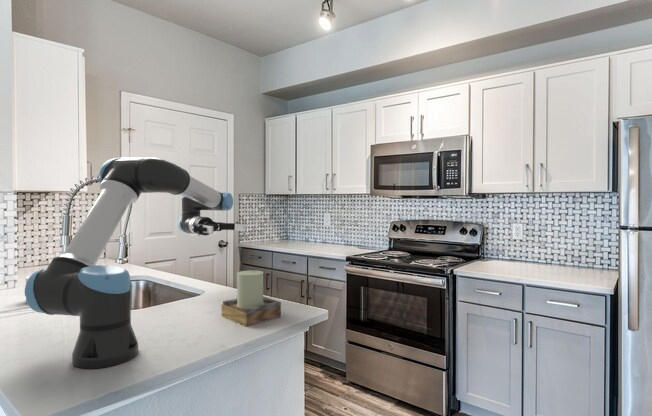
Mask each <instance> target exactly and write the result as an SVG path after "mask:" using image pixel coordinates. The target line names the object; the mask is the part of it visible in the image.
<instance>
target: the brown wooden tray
mask: <svg viewBox="0 0 652 416" xmlns="http://www.w3.org/2000/svg"><path fill="white" fill-rule="evenodd" d="M263 303H264V305H260V306H256V307H251V308H247V309H242V308H239V307H237V298H232V299H226V300H223V301H222V304H221V317H222V316H223V318H224V317H226V318H225V319H227V318H228V319H227V320H229V319H230V321H231V320H233V321H232V322H234V321H235V322H234V323H236V322H237V324H238V323H239V324H238V325H241V326H243V325H244V327H248V326H247V325H249V326H251V324H253V325H255V324H254V323H256V324H259V323H258V322H260V323H262V322H261V321H264V322H266V321H265V320H267V321H270V320H269V319H271V320H274V319H273V318H275V319H278V318H281V317H282V301H278V300H275V299H272V298H269V297H266V296H263ZM280 316H281V317H280ZM277 317H278V318H277Z"/></svg>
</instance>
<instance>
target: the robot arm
mask: <svg viewBox="0 0 652 416" xmlns="http://www.w3.org/2000/svg"><path fill="white" fill-rule="evenodd" d="M98 175H99V177H98V182H99V189H100V191H101V192H100V194H99V196H98V198H96V200H95V202H94V204H93V206H92V207H91V208H90V210H89V212H88V213H87V215H86V217H85V219H84V220H83V221H82V223H81V225H79V228H78V230H77V231H76V233H75V235H74V236H73V238H72V239H71V241H70V243H69V244H68V246H67V247H66V249H65V251H64V252H63V254H61V255H58V256H55V257H53V259H52V260H51V261H50V263H49V264H48V265H47V268H41V269H38V270H37V271H34V272H33V273H32V274H31V275H29V276H30V277H29V279H28V281H27V283H26V282H25V286H24V296H25V302H26V304H27V306H28V307H29V308H30V309H31V310H32V311H34V312H36V313H41V314H45V315H48V316H50V315H51V316H53V315H54V316H55V315H56V316H57V315H58V316H71V317H72V316H73V317H79V333H78V336H77V339H76V342H75V345H74V348H73V350H72V353H71V354H72V355H71V363H72V365H73V366H74V367H77V368H80V369H87V370H88V369H91V370H92V369H101V368H106V367H108V368H109V367H113V366H116V365H120V364H123V363H126V362H128V361H130V360H131V359H133V358H134V357H136V356H137V355H138V353H139V342H138V339H137V336H136V334H135V331H134V329H133V327H132V326H133V325H132V321H131V320H132V316H131V314H132V312H131V311H132V309H131V307H132V304H131V303H132V302H131V299H132V298H131V297H132V296H131V295H132V291H131V289H132V283H131V275H130V273H129V271H128V270H127V269H125V268H123V267H120V266H115V265H108V264H107V265H101V264H100V265H99V264H98V265H97V263H98V261H99V260H100V258H101V256H102V255H103V252H104V251H105V249H106V247H107V246H108V243H109V242H110V240H111V237H113V234H114V233H115V230H116V229H117V227H118V225H119V223H120V221H121V220H122V218H123V216H124V214H125V212H126V211H127V209H128V207H129V205H132V204H135V203H137V201H138V200H139V197H140V196H141V194H142V193H143V194H146V193H148V194H149V193H151V194H152V193H166V194H171V195H174V196H179V195H181V216H180V218H179V220H178V222H177V225H178V229H180V231H182V232H184V233H186V234H193V235H197V237H200V236H209V235H214V232H221V231H236V232H243V233H244V232H246V224H245V223H244V224H243V223H240V222H238V221H236V222H234V223H232V222H231V223H229V222H221V221H220V222H219V221H218V222H216V221H214V220H213V219H212V218H210V217H207V216H201V211H221V212H225V211H231V209H232V208H233V206H234V198H233V196H232V193H230V192H220V191H219V190H217V189H214V188H213V187H211V186H209V185H207V184H205V183H204V182H202V181H200V180H198V179H196V178H195V177H193V176H191V175H190V173H189V172H188V171H187V170H186V169H184V168H182V167H181V166H179V165H177V164H175V163H173V162H170V161H167V160H166V159H162V158H158V157H153V156H151V157H122V156H121V157H116V158H110V159H109V160H108V159H107V160H106V161H105V162H104V163H103V164H102V166H101V168H100V169H99V172H98Z"/></svg>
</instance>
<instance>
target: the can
mask: <svg viewBox="0 0 652 416" xmlns="http://www.w3.org/2000/svg"><path fill="white" fill-rule="evenodd" d="M236 276H237V277H236V278H237V279H236V282H237V285H236V287H237V289H236V290H237V292H236V294H237V295H236V297H237V298H236V299H237V307H239V308H242V309H247V308H251V307H256V306H260V305H264V303H263V297H264V271H262V270H251V269H249V270H240V271H238V272H237V273H236Z"/></svg>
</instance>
